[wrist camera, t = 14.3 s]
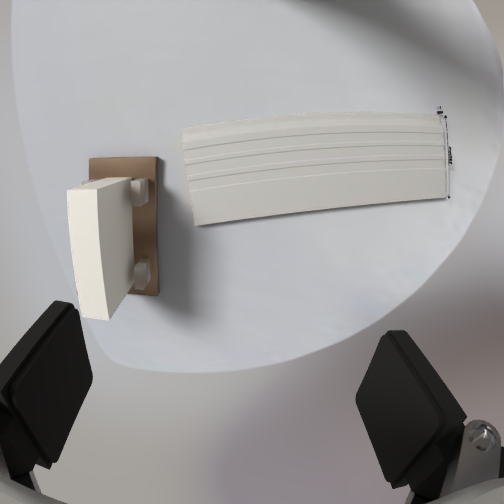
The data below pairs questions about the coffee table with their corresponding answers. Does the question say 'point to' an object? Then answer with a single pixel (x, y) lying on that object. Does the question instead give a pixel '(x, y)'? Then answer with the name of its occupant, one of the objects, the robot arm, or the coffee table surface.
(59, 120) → the coffee table surface
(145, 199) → the hinge mount
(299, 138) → the baseboard molding
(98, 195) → the cabinet door
